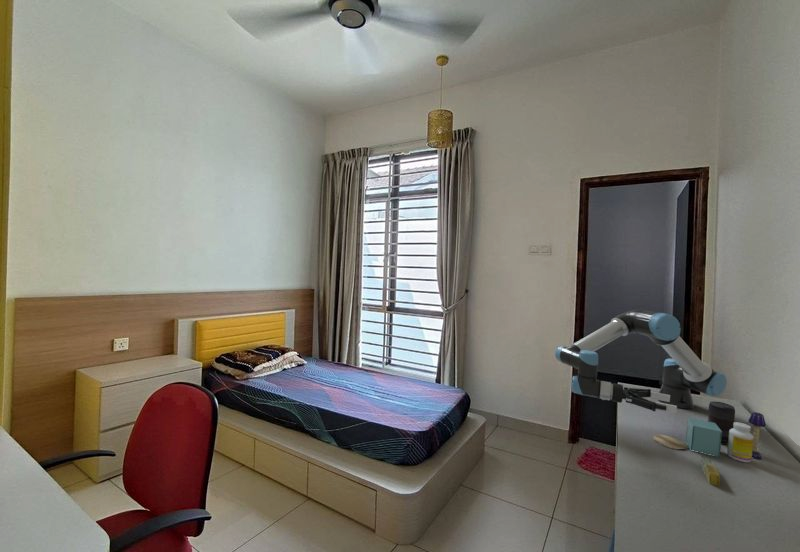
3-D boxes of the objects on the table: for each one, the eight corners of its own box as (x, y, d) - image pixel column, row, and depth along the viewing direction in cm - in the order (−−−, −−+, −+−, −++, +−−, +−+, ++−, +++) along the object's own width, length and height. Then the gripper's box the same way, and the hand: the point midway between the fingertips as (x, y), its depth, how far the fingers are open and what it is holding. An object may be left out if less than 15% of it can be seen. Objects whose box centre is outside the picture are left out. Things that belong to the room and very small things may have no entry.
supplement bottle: (756, 464, 130) (759, 430, 129) (735, 461, 131) (738, 427, 131) (742, 454, 137) (745, 422, 136) (722, 452, 138) (725, 419, 137)
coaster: (658, 433, 151) (658, 432, 151) (691, 444, 143) (691, 443, 143) (649, 440, 145) (649, 439, 144) (682, 453, 136) (682, 451, 136)
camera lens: (700, 434, 152) (704, 400, 151) (720, 436, 152) (723, 401, 151) (717, 444, 144) (720, 408, 143) (737, 446, 144) (741, 409, 143)
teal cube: (685, 441, 145) (687, 417, 145) (712, 447, 141) (715, 422, 141) (690, 450, 138) (693, 425, 137) (719, 457, 134) (722, 431, 133)
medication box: (700, 466, 127) (700, 455, 127) (710, 469, 126) (710, 457, 126) (709, 484, 117) (710, 472, 117) (720, 487, 116) (720, 475, 115)
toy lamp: (764, 461, 133) (768, 417, 132) (747, 457, 135) (751, 414, 134) (759, 455, 137) (763, 412, 136) (743, 451, 139) (747, 409, 138)
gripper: (609, 391, 164) (666, 403, 154) (612, 410, 142) (678, 424, 132) (611, 375, 164) (668, 385, 154) (613, 391, 142) (680, 405, 132)
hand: (673, 403), depth 143 cm, fingers open, 13 cm apart
